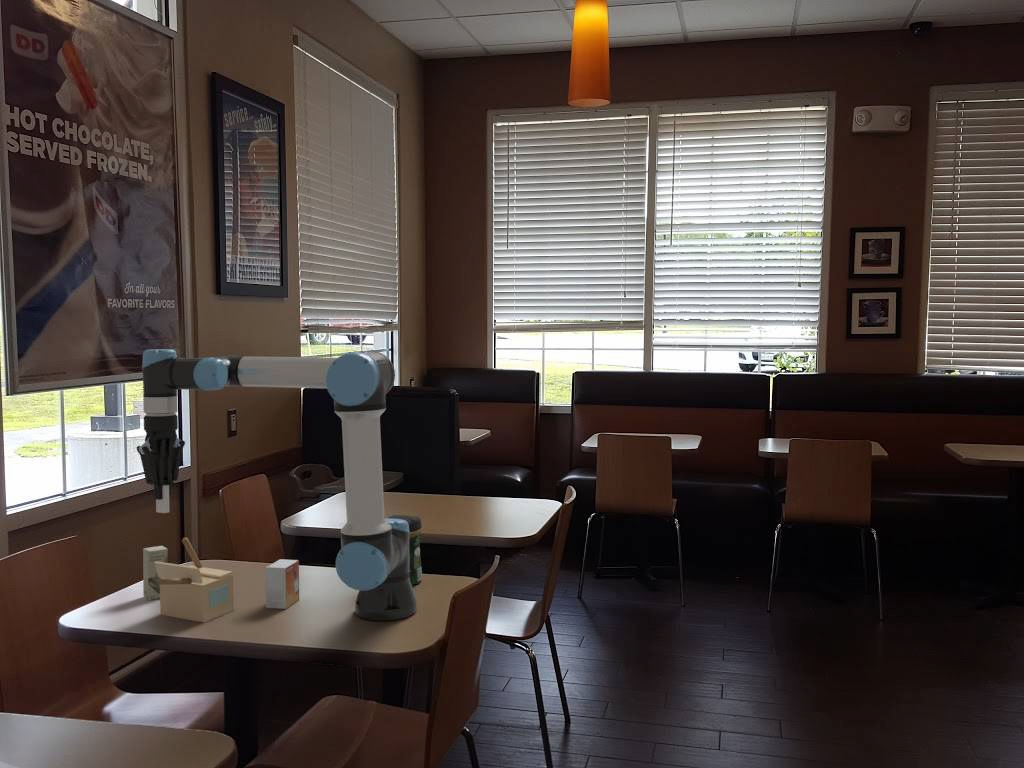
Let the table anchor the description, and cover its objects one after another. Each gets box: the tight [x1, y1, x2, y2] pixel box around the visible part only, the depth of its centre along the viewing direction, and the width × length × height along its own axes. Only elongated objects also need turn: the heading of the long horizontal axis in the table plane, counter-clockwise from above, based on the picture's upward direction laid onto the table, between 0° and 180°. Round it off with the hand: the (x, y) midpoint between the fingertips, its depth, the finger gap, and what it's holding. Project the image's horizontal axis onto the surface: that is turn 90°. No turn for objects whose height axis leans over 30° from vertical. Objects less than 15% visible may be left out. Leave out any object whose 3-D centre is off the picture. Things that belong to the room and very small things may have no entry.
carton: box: [159, 573, 235, 623], centre depth 215 cm, size 14×10×9 cm
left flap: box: [155, 561, 203, 585], centre depth 205 cm, size 14×6×9 cm
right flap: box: [181, 537, 233, 578], centre depth 216 cm, size 14×6×9 cm, turn 65°
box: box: [142, 545, 169, 601], centre depth 227 cm, size 5×4×13 cm
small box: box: [264, 558, 300, 610], centre depth 221 cm, size 8×6×10 cm
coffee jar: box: [387, 514, 423, 586], centre depth 240 cm, size 10×8×19 cm
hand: (162, 512), depth 209 cm, fingers closed
